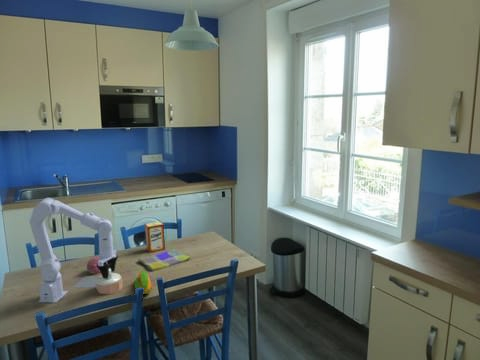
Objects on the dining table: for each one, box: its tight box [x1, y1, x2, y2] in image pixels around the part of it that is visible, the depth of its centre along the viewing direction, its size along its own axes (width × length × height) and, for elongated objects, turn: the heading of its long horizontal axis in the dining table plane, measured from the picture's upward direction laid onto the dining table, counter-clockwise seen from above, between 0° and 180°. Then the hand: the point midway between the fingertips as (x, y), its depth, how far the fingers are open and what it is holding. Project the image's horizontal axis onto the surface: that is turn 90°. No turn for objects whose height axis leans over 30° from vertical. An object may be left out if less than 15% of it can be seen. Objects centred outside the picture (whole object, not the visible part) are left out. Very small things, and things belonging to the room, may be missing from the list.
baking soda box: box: [144, 221, 166, 254], centre depth 213 cm, size 10×6×16 cm
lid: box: [95, 268, 122, 285], centre depth 165 cm, size 11×11×5 cm
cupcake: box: [86, 256, 101, 275], centre depth 182 cm, size 9×8×12 cm
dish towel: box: [136, 248, 191, 272], centre depth 197 cm, size 18×24×3 cm
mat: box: [72, 275, 100, 289], centre depth 173 cm, size 12×12×1 cm
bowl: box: [96, 276, 124, 295], centre depth 166 cm, size 11×11×4 cm
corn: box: [134, 269, 153, 295], centre depth 166 cm, size 7×8×20 cm
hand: (108, 274), depth 165 cm, fingers open, 6 cm apart
